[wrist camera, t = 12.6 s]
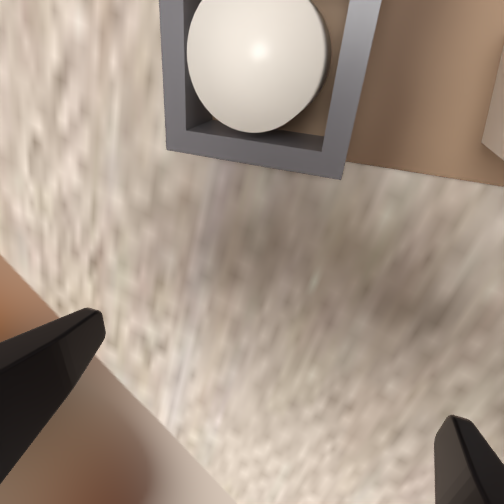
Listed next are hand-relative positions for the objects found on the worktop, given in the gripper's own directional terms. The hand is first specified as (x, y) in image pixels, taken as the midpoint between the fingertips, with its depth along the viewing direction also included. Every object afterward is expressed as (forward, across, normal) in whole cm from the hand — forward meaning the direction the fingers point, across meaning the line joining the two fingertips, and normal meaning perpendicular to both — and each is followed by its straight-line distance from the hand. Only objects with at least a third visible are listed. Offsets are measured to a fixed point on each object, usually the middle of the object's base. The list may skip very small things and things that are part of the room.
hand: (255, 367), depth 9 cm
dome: (+11, +3, -6) cm, 13 cm away
